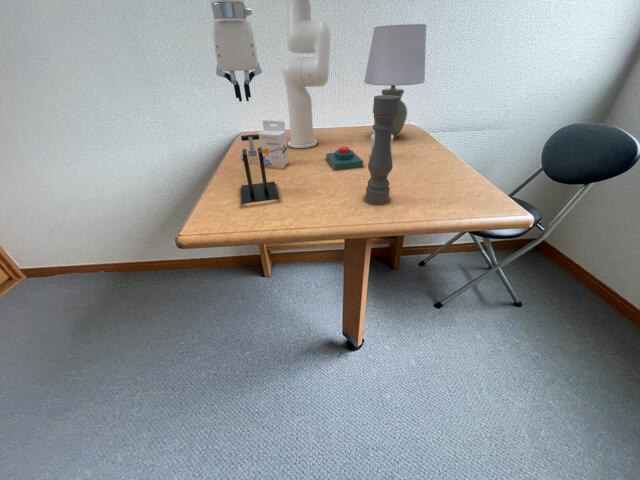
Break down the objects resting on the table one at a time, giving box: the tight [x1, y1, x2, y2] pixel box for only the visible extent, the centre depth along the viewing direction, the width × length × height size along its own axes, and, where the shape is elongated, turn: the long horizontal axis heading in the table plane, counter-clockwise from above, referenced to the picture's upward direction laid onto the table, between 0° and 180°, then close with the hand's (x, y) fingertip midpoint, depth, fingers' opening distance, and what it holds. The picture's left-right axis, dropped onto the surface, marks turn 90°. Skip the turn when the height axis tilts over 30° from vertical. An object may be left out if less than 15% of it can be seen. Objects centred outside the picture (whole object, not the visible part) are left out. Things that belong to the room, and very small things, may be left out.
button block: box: [325, 149, 364, 171], centre depth 98 cm, size 12×10×4 cm
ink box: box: [257, 120, 289, 167], centre depth 95 cm, size 8×5×15 cm, turn 72°
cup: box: [370, 133, 394, 154], centre depth 99 cm, size 11×8×8 cm
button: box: [338, 146, 350, 154], centre depth 96 cm, size 4×4×2 cm
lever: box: [240, 133, 259, 166], centre depth 76 cm, size 12×5×2 cm, turn 13°
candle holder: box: [365, 94, 400, 206], centre depth 68 cm, size 6×6×25 cm
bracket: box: [240, 147, 280, 205], centre depth 76 cm, size 12×10×13 cm
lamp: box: [363, 23, 427, 140], centre depth 113 cm, size 24×24×40 cm
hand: (244, 100), depth 76 cm, fingers closed
